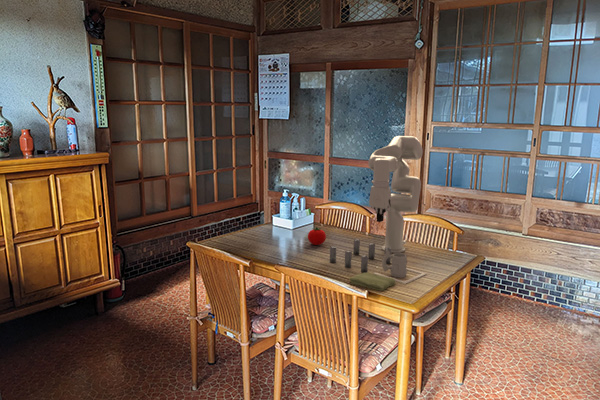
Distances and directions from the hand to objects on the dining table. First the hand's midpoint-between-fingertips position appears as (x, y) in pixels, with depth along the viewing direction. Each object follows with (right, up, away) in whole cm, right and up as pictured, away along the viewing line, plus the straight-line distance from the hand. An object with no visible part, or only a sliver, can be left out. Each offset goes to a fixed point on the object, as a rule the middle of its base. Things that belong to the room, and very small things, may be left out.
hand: (379, 221), depth 224 cm
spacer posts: (-8, -21, +10) cm, 25 cm away
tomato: (-29, -16, +41) cm, 52 cm away
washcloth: (-7, -28, -18) cm, 34 cm away
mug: (+5, -25, -7) cm, 27 cm away
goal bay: (+8, -25, -6) cm, 27 cm away
